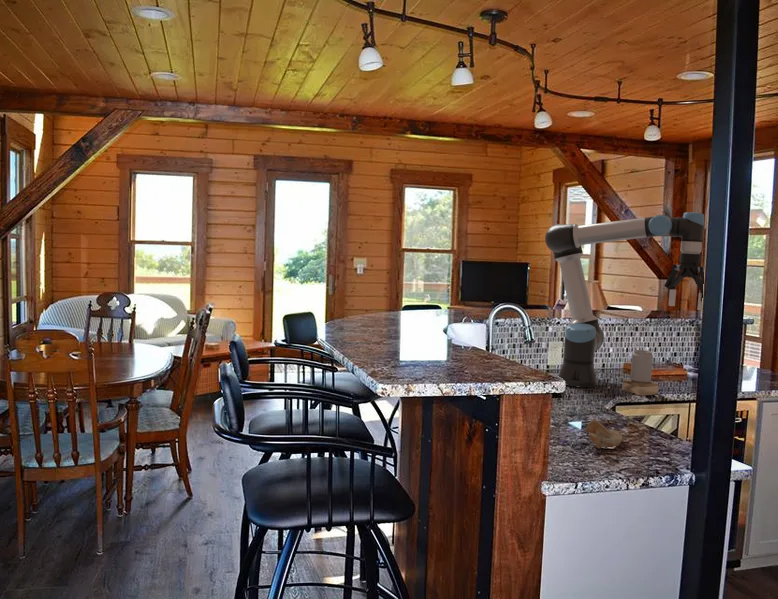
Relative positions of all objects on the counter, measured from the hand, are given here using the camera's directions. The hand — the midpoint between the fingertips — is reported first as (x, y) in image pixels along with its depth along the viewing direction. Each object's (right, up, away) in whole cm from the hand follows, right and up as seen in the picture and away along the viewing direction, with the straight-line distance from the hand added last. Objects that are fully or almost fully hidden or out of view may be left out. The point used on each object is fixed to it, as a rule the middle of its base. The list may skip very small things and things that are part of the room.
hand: (685, 308), depth 272 cm
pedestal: (-19, -32, -2) cm, 37 cm away
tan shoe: (-54, -38, -76) cm, 101 cm away
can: (-18, -28, -2) cm, 34 cm away
